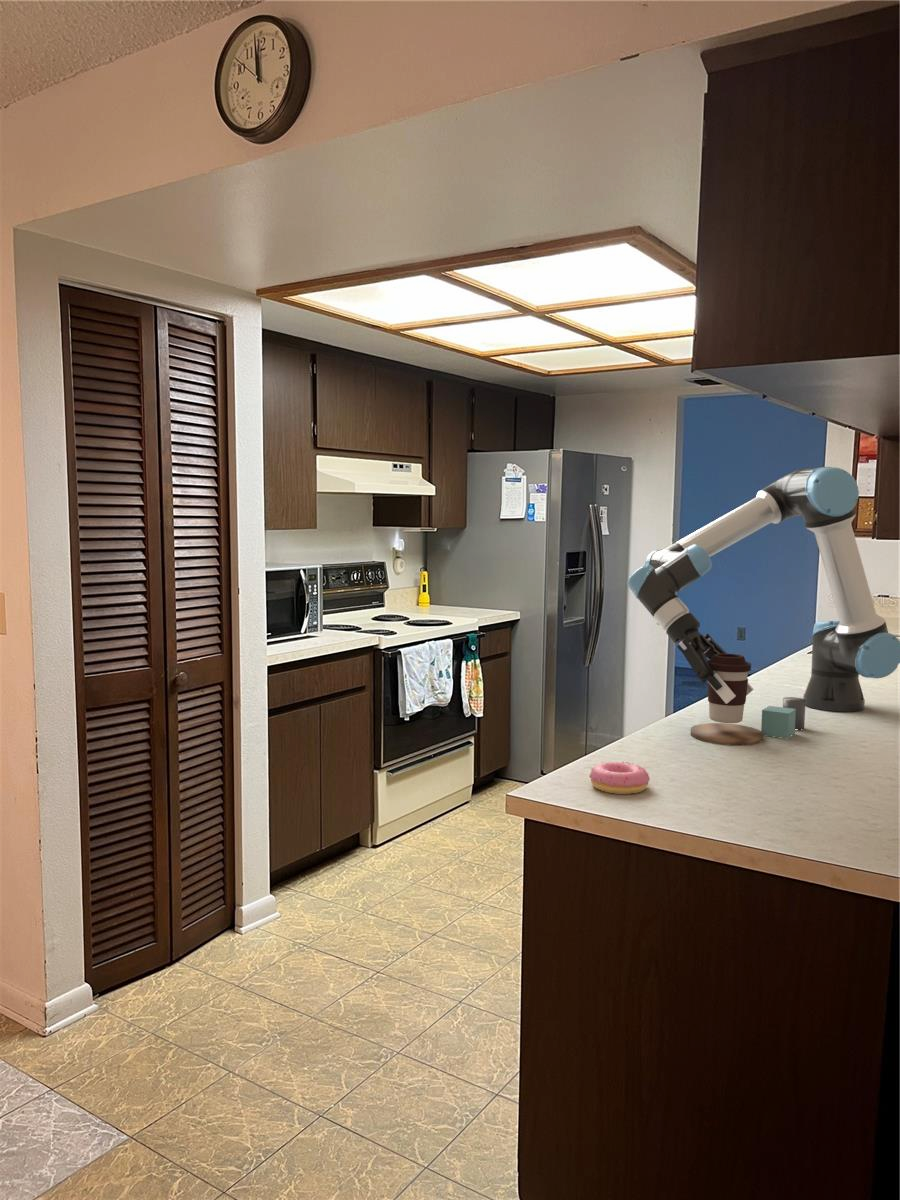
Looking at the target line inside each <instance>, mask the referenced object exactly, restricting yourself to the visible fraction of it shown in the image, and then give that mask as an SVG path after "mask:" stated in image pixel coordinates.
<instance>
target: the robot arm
mask: <svg viewBox="0 0 900 1200" xmlns="http://www.w3.org/2000/svg"><path fill="white" fill-rule="evenodd" d="M859 493H860V491H859V486H858V483H857V481H856V479H855V477H854V476H853V475H852V474H851V473H850V472H848V471H847V470H845V469H842V468H839V467H834V466H833V467H832V466H822V467H814V468H804V469H797V470H795V471H793V472H789V473H788V474H786V475H785V476H782V477H781V478H779V479H777V480H775V481H773V483H770V484H769V485H767V486H766V487H764V488H762V489H761V490H758V492H757V493H756V496H755V497H754V498H752V499H751V500H749V501H747V502H745V503H743V504H741V505H740V506H738V507H736V508H735V509H733V510H731V511H729V512H727V513H726V514H723V515H722V516H720V517H718V518H717V519H715V520H714V521H711V522H710V523H707V524H706V525H704V526H703V527H701V528H699V529H697V530H696V531H695V530H694V532H692V533H690V534H689V535H686V536H685V537H683V538H681V539H680V540H678V541H676V542H674V543H672V544H670V545H669V546H667V547H665V548H663V549H656V550H653V551H652V552H650V553H649V554H648V555H647V557H646V559H645V565H643V566H641V567H638V569H636V570H635V571H634V572H633V573H632V574H631V575H630V576H629V578H628V580H627V586H628V587H629V589H630V591H631V592H632V593H633V595H634V596H635V598H636V599H638V601H639V602H640V603H641V604H642V605H643V607H644V608H645V609H646V610H647V611H648V613H650V615H651V616H652V617H653V619H654V620H655V622H656V625H658V626H660V627H661V628H662V629H663V630H665V631H666V635H667V636H668V637H669V638H670V640H671V641H672V642H673V643H674V644H677V645H676V647H677V649H678V650H679V651H680V652H681V653H682V654H683V656H684V658H685V659H686V661H687V662H688V664H689V666H690V667H691V669H692V670H693V672H694V673H695V675H696V676H697V678H698V679H699V680H700V681H701V682H702V683H705V682H707V680H708V683H709V684H710V685H711V686H712V687H713V689H714V690H715V691H716V692H717V694H718V695H719V696H720V697H721V698H722V700H723V701H724V702H725V703H726V704H727V703H728V702H730V701H731V700H732V699H733V698H734V697H736V695H735V694H734V693H733V692H732V691H731V689H730V688H729V687H728V686H727V685H726V683H725V682H724V681H723V680H722V679H721V677H720V676H719V675H718V674H717V673H716V674H715V675H713V674H714V672H713V670H712V668H711V666H710V664H709V662H708V660H711V658H712V656H713V655H714V654H728V652H726V651H725V650H724V649H723V648H722V646H720V645H719V644H718V643H717V642H716V641H715V640H714V638H712V636H711V635H710V634H709V633H706V634H705V635H703V634H702V633H700V631H699V628H700V627H701V623H700V622H699V620H698V619H697V617H696V616H695V615H694V613H692V612H690V609H689V608H688V606H686V605H685V603H684V602H683V601H682V600H681V598H679V597H678V595H677V593H679V592H680V591H682V590H684V589H685V588H686V587H688V586H689V585H691V584H693V583H694V582H696V581H697V580H698V579H700V578H702V577H703V576H705V575H706V574H707V573H708V572H709V571H710V570H711V569H712V567H713V563H712V560H711V558H710V557H712V556H714V555H716V554H717V553H720V552H721V551H723V550H725V549H726V548H728V547H730V546H732V545H733V544H735V543H738V542H739V541H742V540H743V539H745V538H746V537H748V536H750V535H752V534H753V533H755V532H757V531H759V530H760V529H762V528H764V527H765V526H768V525H770V524H775V525H777V524H780V523H781V522H783V521H785V520H787V519H790V518H795V517H800V516H802V518H803V522H804V524H805V528H806V530H809V531H811V532H812V533H814V537H815V539H816V540H815V541H816V542H817V547H818V550H819V554H820V557H821V560H822V564H823V568H824V571H825V576H826V577H827V582H828V585H829V588H830V592H831V595H832V599H833V602H834V607H835V609H836V613H837V617H838V620H822V621H821V620H819V621H817V622H816V623H815V622H814V624H813V631H812V647H811V648H812V650H811V672H810V673H811V675H810V678H809V681H808V683H807V686H806V689H805V692H804V693H803V698H802V699H805V700H806V701H805V707H808V708H811V709H816V710H821V711H829V712H830V711H831V712H858V711H859V712H861V711H863V710H864V709H865V704H866V703H865V701H866V700H865V697H864V694H863V690H862V687H861V684H860V679H859V678H860V677H859V676H862V677H863V678H866V679H867V678H871V679H883V678H886V677H888V676H890V675H891V674H893V673H894V672H895V671H896V669H897V668H898V666H899V664H900V640H899V638H897V637H898V636H895V635H894V634H892V633H889V629H888V626H887V623H886V619H885V618H884V617H883V616H881V615H879V614H877V612H876V608H875V605H874V600H873V597H872V593H871V590H870V586H869V583H868V579H867V576H866V571H865V568H864V565H863V562H862V558H861V554H860V551H859V547H858V544H857V540H856V536H855V532H854V529H853V526H852V522H853V521H854V519H855V517H856V515H857V514H856V511H855V507H856V505H857V502H858V501H857V500H859V496H860V495H859ZM753 691H754V688H753V686H752V685H751V684H750V683H749V682H748V685H747V694H746V697H747V696H748V695H749V694H750V693H752V692H753Z"/></svg>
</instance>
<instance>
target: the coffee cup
mask: <svg viewBox="0 0 900 1200" xmlns="http://www.w3.org/2000/svg"><path fill="white" fill-rule="evenodd" d="M707 660H708V662H709V664H710V666H711V668H712V670H713V672H714V674H713V675H715V674H716V673H717V674H718V675H719V676H720V677H721V679H722V680H723V681H724V682H725V683H726V685H727V686H728V687H729V688H730V689H731V691H732V692H733V693H734V694H735V695H736V697H734V698H733V699H732V700H731V701H730V702H728V703H727V704H726V703H725V702H724V701H723V700H722V698H721V697H720V696H719V695H718V694H717V692H716V691H715V690H714V689H713V687H712V686H711V685H710V684H709V683H708V680H707V681H706V682H707V701H708V712H709V713H708V716H709V717H708V718H709V720H711V721H713V722H716V723H724V724H738V723H741V722H742V721H743V719H744V708H745V705H746V701H747V696H746V694H747V685H748V683H749V679H748V675H749V672H750V671H751V670H752V663H750V662H749V661H746V658H745V656H744V655H741V654H736V653H727V654H714V655H713V656H712V658H711V660H710V659H707Z"/></svg>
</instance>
